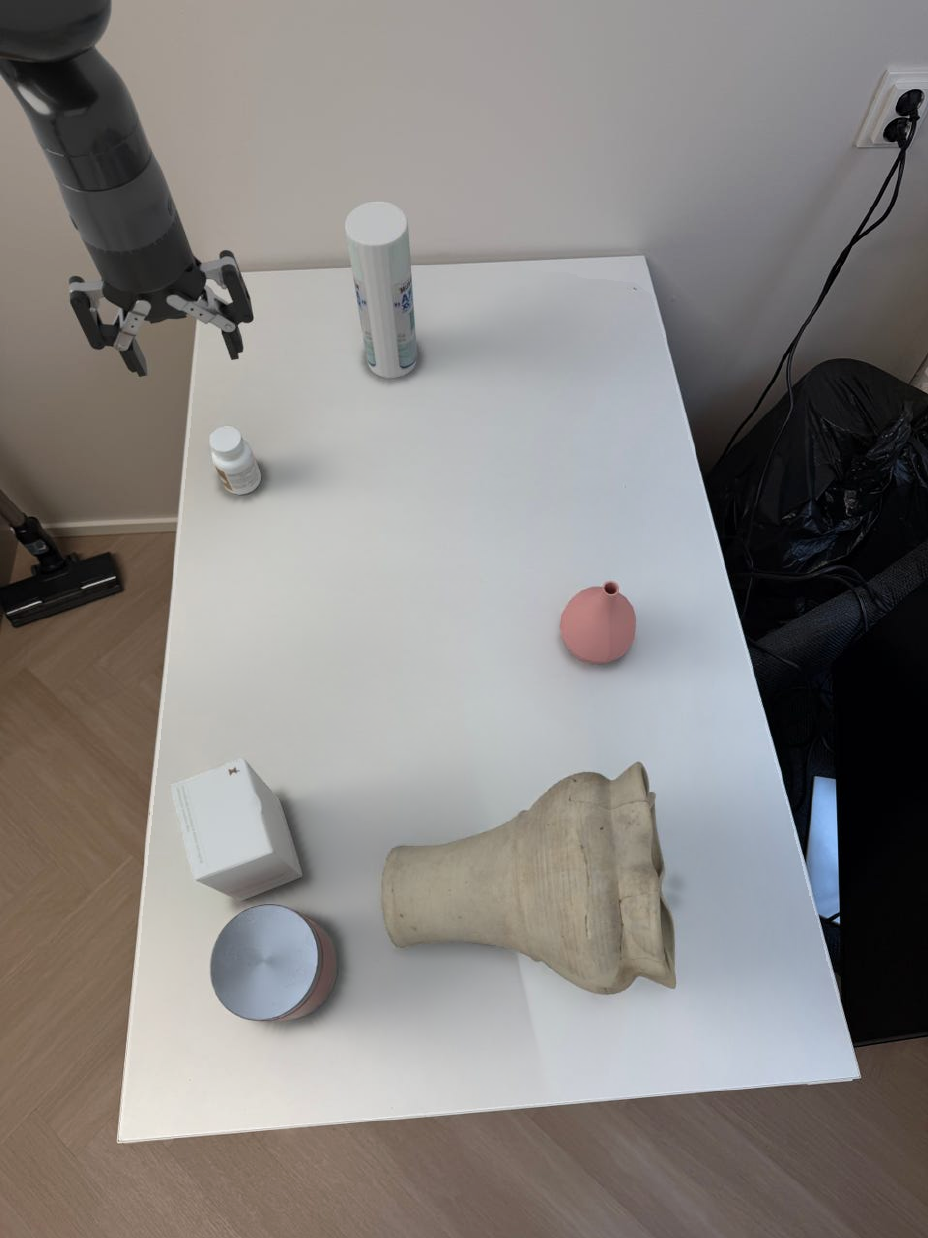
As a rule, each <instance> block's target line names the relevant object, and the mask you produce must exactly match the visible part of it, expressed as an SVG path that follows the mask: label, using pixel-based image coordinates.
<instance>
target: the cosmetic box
mask: <svg viewBox="0 0 928 1238" xmlns="http://www.w3.org/2000/svg"><path fill="white" fill-rule="evenodd" d="M169 787H170V791H171V792H170V793H171V796H172V799H173V804H174V808H175V812H176V815H177V820H178V825H179V828H180V832H181V837H182V840H183V845H184V849H185V852H186V856H187V860H188V863H189V866H190V871H191V875H192V878H193V880H194V881H197V882H198V883H201V884H202V885H205V886H206V887H209V888H211V889H213V890H215V891H217V892H220V894H221V893H222V894H224V895H226V896H227V897H229V898H231V899H234V900H236V901H238V902H242V901H245V900H247V899H251V898H252V897H256V896H257V895H260V894H263V893H265V892H268V891H270V890H273V889H275V888H279V887H280V886H283V885H285V884H287V883H290V882H292V881H296V880H297V879H300V878H302V877H303V872H302V868H301V863H300V860H299V857H298V854H297V850H296V847H295V844H294V841H293V838H292V834H291V831H290V827H289V825H288V821H287V818H286V815H285V812H284V808H283V805H282V803H281V799H279V797H278V796H277V795H276V794H275V793H274V792H273V791H272V789H271V788H270V787H269V786H268V785H267V784H266V782H264V780H263V779H262V777H261V776H260V775H259V774H258V773H257V772H256V771H255V769H254V768H253V767H252V765H250V763H249V762H248V761H247V759H246V758H245V757H244V756H242V757H240V758H237V759H233V760H232V761H229V762H227V763H224V764H221V765H219V766H216V767H214V768H211V769H209V770H206V771H203V772H200V773H198V774H195V775H193V776H190V777H188V778H185V779H183V780H180V781H177V782H175V783H171V784H170V785H169Z"/></svg>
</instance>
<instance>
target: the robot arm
mask: <svg viewBox="0 0 928 1238" xmlns="http://www.w3.org/2000/svg"><path fill="white" fill-rule="evenodd" d="M112 9H113V0H0V77H1V78H2V80H3V81H4V82H5V85H7V87H8V88H9V90H10V92H11V93H12V94H13V96H14V97H15V99H16V100H17V102H18V104H19V106H20V107H21V108H22V110H23V112H24V115H25V116H26V118H27V120H28V124H29V126H30V128H31V130H32V132H33V135H34V137H35V139H36V141H37V143H38V145H39V147H40V149H41V151H42V153H43V155H44V158H45V159H46V162H47V164H48V165H49V167H50V170H51V171H52V174H53V176H54V178H55V180H56V183H57V186H58V189H59V192H60V195H61V198H62V200H63V203H64V205H65V208H66V210H67V211H68V217H69V218H70V221H71V222H72V225H73V227H74V228H75V229H76V231H77V232H78V234H79V236H80V237H81V240H82V242H83V244H84V246H85V248H86V249H87V250H86V251H87V252H88V254H89V256H90V258H91V260H92V262H93V264H94V266H95V268H96V270H97V271H98V274H99V276H100V278H101V280H94V281H93V280H92V281H85V279H84V278H83V277H81V276H79V275H72V276H70V277H69V279H68V288H69V289H68V291H69V293H68V294H69V303H70V306H71V308H72V310H73V313H74V314H75V316H76V319H77V321H78V322H79V325H80V327H81V329H82V332H83V334H84V335H85V338H86V340H87V341H88V343H89V347H91V348H92V349H93V350H96V351H101V350H103V349H105V347H112V348H114V349H115V350H116V351H118V353H119V354H120V356H121V358H122V360H123V362H124V365H125V366H126V368H127V369H128V371H129V372H131V373H132V374H133V373H136V374H137V375H138V377H139V378H143V377H147V376H148V366H147V360H146V357H145V354H144V352H143V351H142V349H141V347H140V344H139V342H138V341H137V339H136V337H137V335H138V333H139V332H140V329H141V327H142V326H143V323H144V321H145V322H149V323H150V324H151V325H152V324H158V323H161V322H165V321H167V320H180V319H185V318H186V319H187V317H188V316H187V315H189V316H191V317H193V318H194V319H196V320H197V321H199V322H201V323H203V324H205V325H208V324H211V325H213V326H214V327H216V328H218V329H220V331H221V335H222V338H223V342H224V344H225V347H226V349H227V352H228V354H229V355H228V356H229V357H230V358H229V359H230V360H231V361H234V360H239V359H240V355H239V354H242V353H244V342H243V337H242V333H241V331H240V328H239V325H240V324H242V323H243V324H250V323H253V321H254V319H255V316H254V312H253V306H252V299H251V295H250V293H249V290H248V288H247V286H246V285H247V284H246V283H245V280H244V278H243V275H242V272H241V270H240V266H239V265H238V263H237V260H236V257H235V254H234V253H233V252H232V250H229V249H224V250H223V249H222V250H221V251H220V252H219V253H218V257H219V259H215V260H210V261H207V262H202V261H201V260H199V259H198V258H197V257H196V255H194V253H193V250H192V248H191V245H190V242H189V239H188V237H187V233H186V232H185V229H184V225H183V223H182V220H181V217H180V215H179V211H178V209H177V206H176V204H175V201H174V198H173V195H172V193H171V190H170V187H169V185H168V181H167V179H166V177H165V174H164V171H163V169H162V167H161V165H160V164H159V161H158V160H157V158H156V156H155V154H154V152H153V150H152V148H151V145H150V142H149V139H148V136H147V134H146V131H145V129H144V126H143V123H142V121H141V118H140V115H139V112H138V110H137V107H136V105H135V104H136V103H135V102H134V99H133V97H132V95H131V92H130V90H129V88H128V86H127V84H126V83H125V81H124V79H123V78H122V76H121V75H120V74H119V72H118V71H117V70H116V69H115V67H114V66H113V64H111V63H110V62H109V61H108V59H107V58H106V57H105V56H104V54H102V53H101V52H100V50H98V48H97V47H96V45H98V43H99V42H100V41H101V40H102V38H103V36H105V33H106V31H107V30H108V27H109V24H110V20H111V17H112ZM207 280H212V281H214V282H215V283H216V285H217V286H219V287H220V288H221V289H222V290H227V292H228V295H229V296H230V299H231V301H232V302H229V301H226V300H225V299H223V298H222V297H220V296H218V295H217V294H215V292H214V291H213V289H212V288H211V287H210V286H208V285H207ZM103 298H105V300H107V301H108V302H109V303H111V304H113V305H114V306H116V307H118V310H117V312H116V315H115V317H114V319H113V322H112V324H109V323H104V321H103V320H102V318H101V315H100V313H99V311H98V308H99V307H100V306H101V305H100V304H101V303H100V300H101V299H103Z"/></svg>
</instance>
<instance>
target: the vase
mask: <svg viewBox="0 0 928 1238" xmlns="http://www.w3.org/2000/svg"><path fill="white" fill-rule="evenodd" d="M656 799H657V794H656V792H655V791H650V779H649V776H648V772H647V770H646V767H645V765H644V764H643V763H642V762H641V761H635V762H634V763H633V764H631V765H630V766H628V767H627V768H626V769H625V770H624V771H623V772H621V773H620V775H618V777H616V778H615V779H609V778H607V777H606V776H605V775H603V774H602V773H600V772H595V771H581V772H577V773H574V774H571V775H568V776H567V777H564V778H563V779H561V780H559V781H558V782H555V783H554V784H553V785H552V786H551V787H550V788H548V789H547V791H545V792H544V793H543V794H542V795H540V796H539V798H537V800H535V802H534V803H533V804H532V806H530V808H529V809H525V810H524V809H523V810H521V811H519V813H518V814H517V815H515V816H514V817H513V818H511V819H510V820H508V821H506V822H504V823H502V824H500V825H497V826H496V827H493V828H490V829H488V830H485V831H483V832H480V833H478V834H474V835H471V836H467V837H465V838H461V839H458V840H453V841H451V842H450V841H449V842H447V843H441V844H432V845H404V844H403V845H397V846H394V847H392V848H390V850H389V852H388V854H387V856H386V858H385V862H384V867H383V870H382V878H381V903H380V904H381V910H382V918H383V922H384V925H385V929H386V932H387V935H388V937H389V939H390V941H391V943H392V944H393V945H394V946H395V948H399V949H406V948H408V947H413V946H416V945H423V944H431V943H471V944H482V945H490V946H496V947H499V948H505V949H509V950H512V951H515V952H518V953H520V954H522V955H524V956H526V957H529V958H530V959H531V960H532V961H533V962H536V963H540V962H541V963H543V964H544V965H545V966H547V967H548V968H549V969H550V970H552V971H553V972H554V973H556V974H557V975H558V976H559V977H561V978H563V979H564V980H566V981H567V982H569V983H570V984H572V985H574V986H576V987H578V988H580V989H582V990H584V991H588V993H593V994H597V995H601V996H610V995H616V994H617V995H618V994H621V993H622V992H625V991H627V989H629V988H630V987H631V986H632V985H633V983H634V982H636V980H637V978H638V977H642V978H645V979H648V980H650V981H652V982H654V983H656V984H658V985H661V986H663V987H666V988H668V989H670V990H676V988H677V976H676V930H675V922H674V917H673V913H672V910H671V907H670V905H669V904H668V902H667V900H666V898H665V895H664V892H663V881H664V878H665V875H666V865H665V859H664V855H663V850H662V846H661V842H660V837H659V831H658V830H659V829H658V823H657V815H656Z"/></svg>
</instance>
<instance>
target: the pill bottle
mask: <svg viewBox="0 0 928 1238" xmlns="http://www.w3.org/2000/svg"><path fill="white" fill-rule="evenodd" d="M208 441H209V445H210V448H211V455H210V456H211V461H212V463H213V464H214V467H215V470H216V471H217V473H218V475H219V478H220V480H221V482H222V485H223V486H224V488H225V489H226V490H227V491H228V492H230V493H232V494H233V495H246V494H250V493H251V492H253V491H255V490H256V489H257V488H258V487H259V485H260V484H261V480H262V472H261V470H260V467H259V465H258V463H257V460H256V457H255V455H254V452H253V450H252V447H251V444H249V442H248V441H247V440H245V439H244V438H243V436H242V433H241V432H240V430H239V429H238V428H236V427H234V426H231V425H223V426H222V425H221V426H220V427H218V428H216V429H214V430H213V431H212V432H211V434H210V436H209V439H208Z"/></svg>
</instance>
